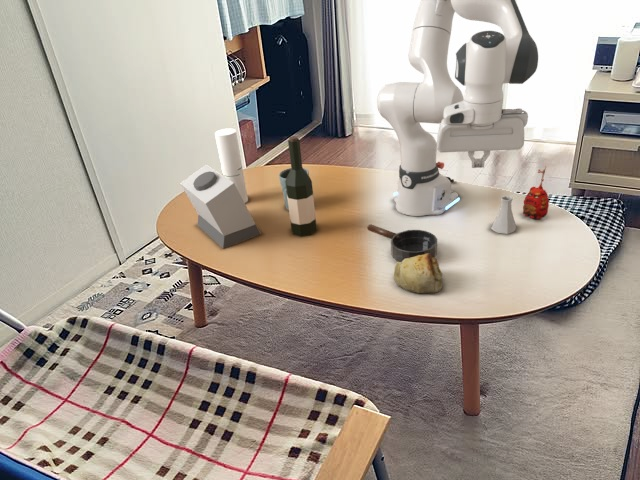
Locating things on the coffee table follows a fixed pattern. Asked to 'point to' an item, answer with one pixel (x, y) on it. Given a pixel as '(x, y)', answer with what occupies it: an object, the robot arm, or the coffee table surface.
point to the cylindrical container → (231, 159)
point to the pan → (413, 244)
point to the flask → (505, 217)
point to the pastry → (419, 274)
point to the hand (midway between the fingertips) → (477, 166)
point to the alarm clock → (219, 207)
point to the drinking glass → (283, 177)
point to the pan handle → (382, 231)
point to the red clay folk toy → (536, 201)
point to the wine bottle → (299, 193)
